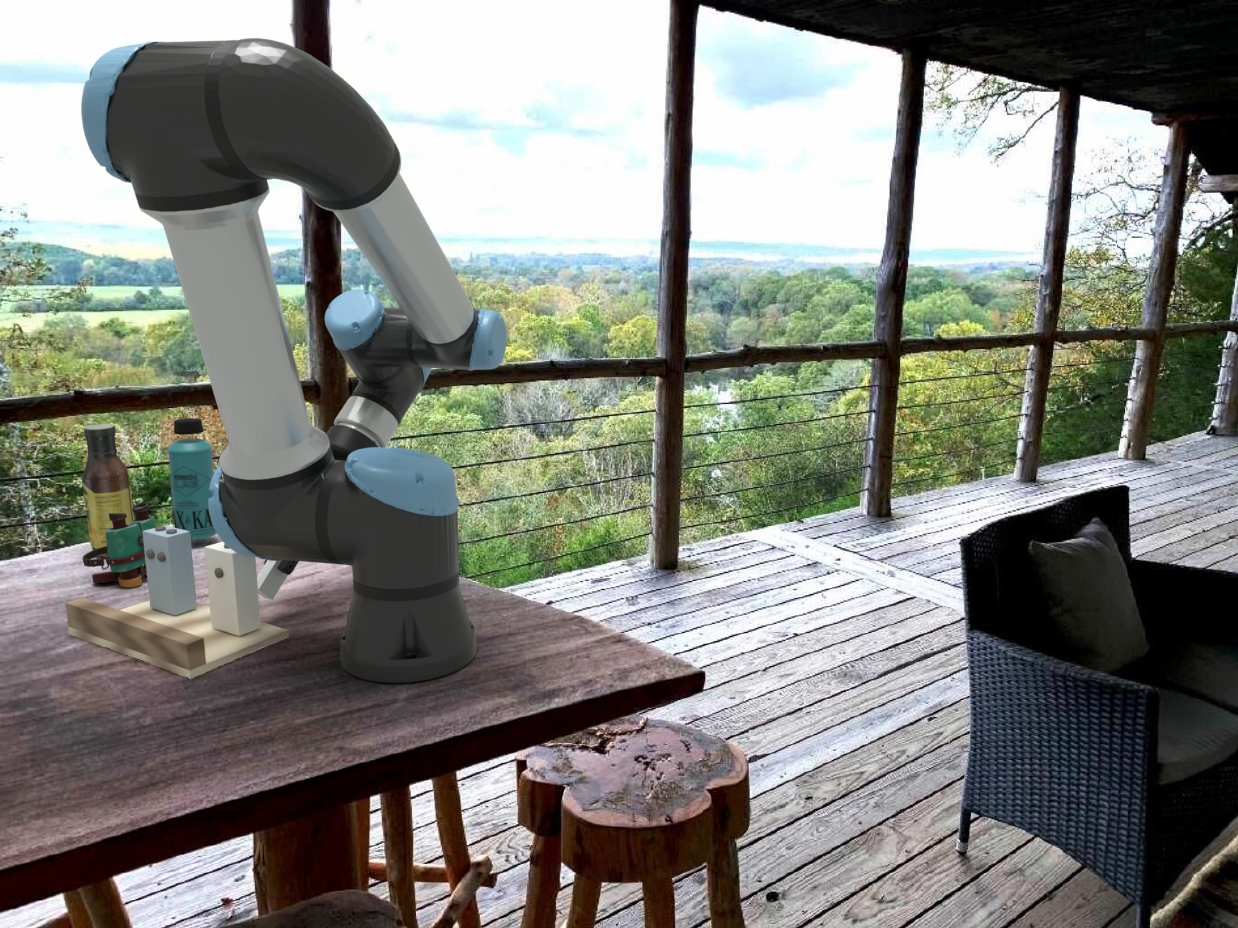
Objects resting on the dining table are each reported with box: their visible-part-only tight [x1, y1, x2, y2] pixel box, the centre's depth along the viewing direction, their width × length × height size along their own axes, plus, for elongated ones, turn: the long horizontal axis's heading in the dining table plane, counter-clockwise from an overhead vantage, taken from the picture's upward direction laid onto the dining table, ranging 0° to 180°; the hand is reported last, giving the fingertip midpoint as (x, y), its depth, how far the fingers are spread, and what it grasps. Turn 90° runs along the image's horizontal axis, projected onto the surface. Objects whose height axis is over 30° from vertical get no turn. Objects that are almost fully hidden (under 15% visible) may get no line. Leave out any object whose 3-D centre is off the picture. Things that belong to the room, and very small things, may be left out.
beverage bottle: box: [167, 417, 218, 541], centre depth 143 cm, size 6×7×20 cm
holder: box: [65, 597, 290, 680], centre depth 108 cm, size 23×13×4 cm, turn 60°
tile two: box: [142, 525, 198, 615], centre depth 113 cm, size 5×3×10 cm, turn 60°
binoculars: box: [82, 501, 157, 588], centre depth 127 cm, size 9×11×10 cm
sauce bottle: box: [81, 423, 136, 558], centre depth 137 cm, size 7×6×20 cm
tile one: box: [204, 541, 261, 636], centre depth 107 cm, size 5×3×10 cm, turn 60°
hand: (261, 593), depth 111 cm, fingers closed
